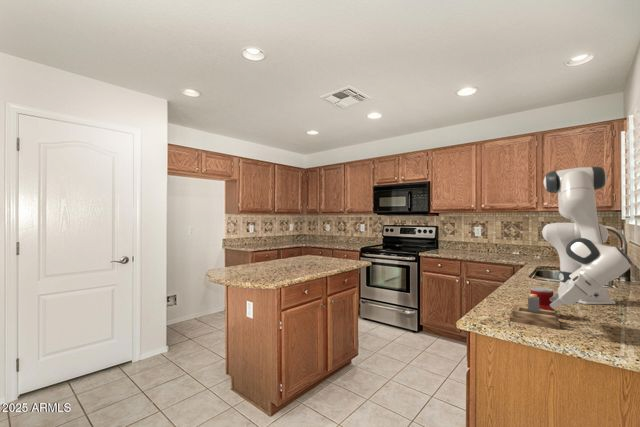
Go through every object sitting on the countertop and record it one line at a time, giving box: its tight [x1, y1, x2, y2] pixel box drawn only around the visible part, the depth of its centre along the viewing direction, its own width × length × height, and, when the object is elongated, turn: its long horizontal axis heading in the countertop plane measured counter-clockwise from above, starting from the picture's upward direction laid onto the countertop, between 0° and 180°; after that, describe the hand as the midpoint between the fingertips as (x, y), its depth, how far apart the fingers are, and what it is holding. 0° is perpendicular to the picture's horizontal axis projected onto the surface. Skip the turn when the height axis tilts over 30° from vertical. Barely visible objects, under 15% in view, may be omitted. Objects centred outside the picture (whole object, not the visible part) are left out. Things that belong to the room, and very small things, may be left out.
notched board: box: [509, 305, 561, 330], centre depth 122 cm, size 16×11×4 cm
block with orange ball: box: [527, 293, 539, 314], centre depth 122 cm, size 4×4×9 cm
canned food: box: [530, 286, 555, 311], centre depth 131 cm, size 8×8×11 cm
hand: (551, 303), depth 119 cm, fingers open, 8 cm apart
